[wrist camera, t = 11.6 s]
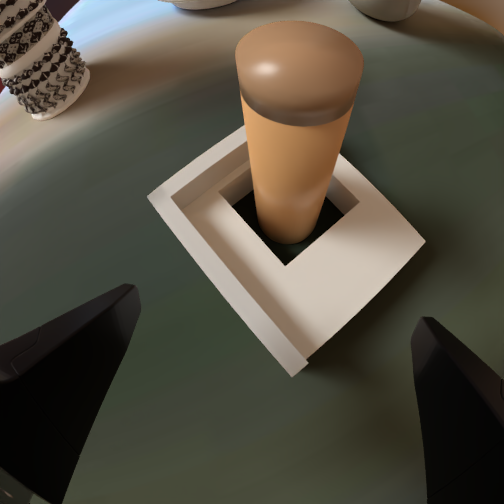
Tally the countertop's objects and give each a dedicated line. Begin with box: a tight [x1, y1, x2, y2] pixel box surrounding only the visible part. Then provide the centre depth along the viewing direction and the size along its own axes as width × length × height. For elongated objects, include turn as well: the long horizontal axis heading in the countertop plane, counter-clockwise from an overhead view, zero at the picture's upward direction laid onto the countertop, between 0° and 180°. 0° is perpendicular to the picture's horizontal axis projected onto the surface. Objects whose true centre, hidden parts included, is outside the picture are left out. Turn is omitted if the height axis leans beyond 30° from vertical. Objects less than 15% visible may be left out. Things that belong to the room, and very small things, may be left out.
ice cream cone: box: [235, 21, 364, 244], centre depth 15 cm, size 4×4×14 cm
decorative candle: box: [0, 0, 90, 121], centre depth 15 cm, size 9×9×25 cm
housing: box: [147, 125, 426, 377], centre depth 18 cm, size 12×11×5 cm
